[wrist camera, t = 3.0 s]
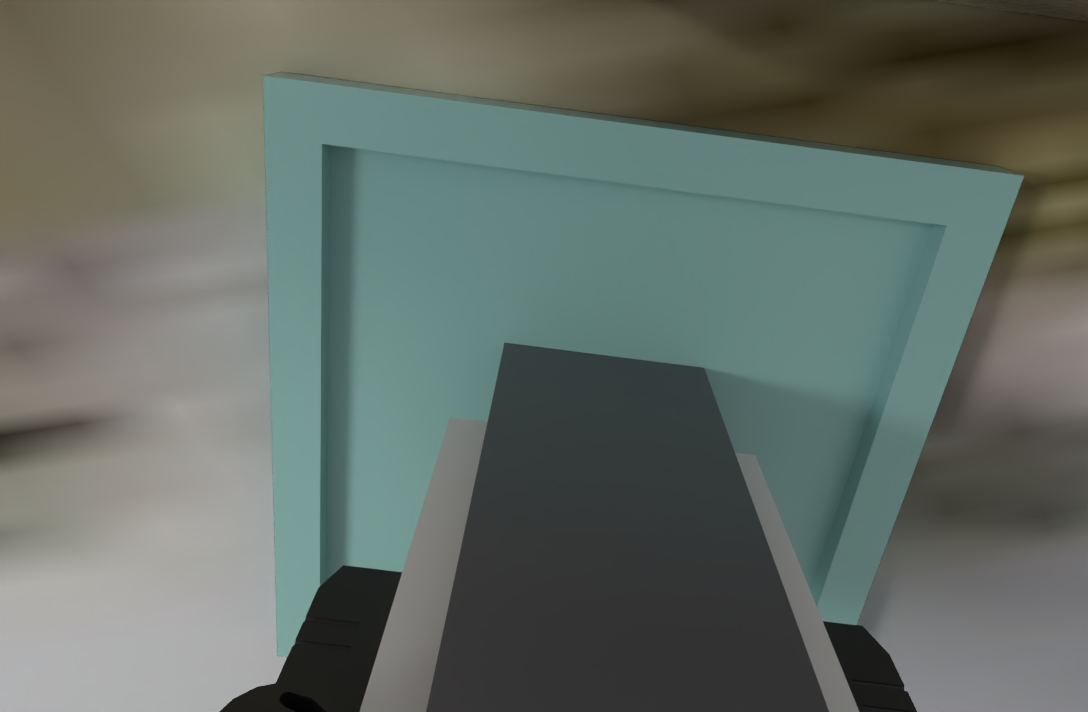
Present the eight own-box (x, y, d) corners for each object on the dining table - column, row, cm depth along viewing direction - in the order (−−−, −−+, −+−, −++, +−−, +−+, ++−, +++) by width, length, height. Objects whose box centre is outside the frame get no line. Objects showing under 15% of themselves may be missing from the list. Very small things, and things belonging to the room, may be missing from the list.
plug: (486, 508, 17) (384, 1087, 8) (504, 342, 15) (402, 826, 6) (666, 531, 17) (772, 1129, 8) (704, 368, 15) (891, 884, 6)
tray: (290, 627, 19) (277, 655, 18) (281, 71, 14) (263, 75, 13) (810, 690, 19) (820, 720, 18) (998, 166, 14) (1024, 175, 13)
